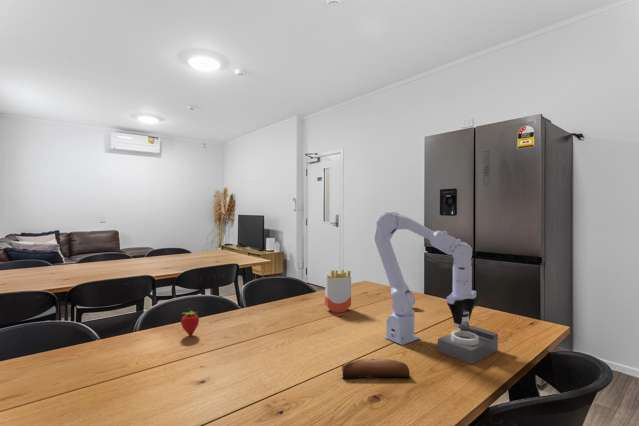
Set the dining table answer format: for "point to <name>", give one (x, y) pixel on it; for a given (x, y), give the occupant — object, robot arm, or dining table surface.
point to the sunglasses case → (375, 368)
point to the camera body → (469, 344)
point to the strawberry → (190, 322)
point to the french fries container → (338, 291)
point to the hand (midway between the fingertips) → (461, 322)
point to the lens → (464, 321)
